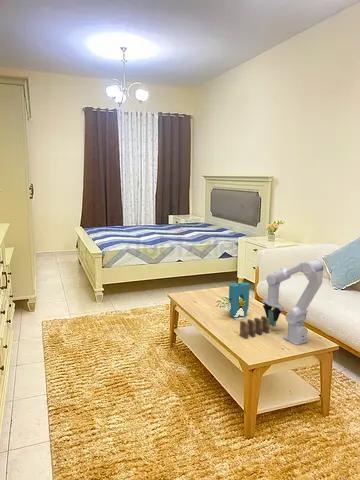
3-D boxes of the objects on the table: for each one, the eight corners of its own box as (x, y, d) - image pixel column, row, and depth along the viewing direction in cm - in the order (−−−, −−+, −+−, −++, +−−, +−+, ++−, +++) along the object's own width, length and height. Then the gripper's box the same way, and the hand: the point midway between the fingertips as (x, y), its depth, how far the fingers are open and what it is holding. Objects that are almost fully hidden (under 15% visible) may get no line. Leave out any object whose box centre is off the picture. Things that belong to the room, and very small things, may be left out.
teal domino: (275, 326, 199) (276, 312, 198) (273, 326, 198) (274, 312, 197) (269, 323, 203) (270, 309, 202) (267, 323, 203) (268, 309, 201)
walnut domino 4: (269, 333, 197) (269, 318, 196) (266, 333, 196) (267, 319, 195) (262, 329, 201) (263, 315, 200) (260, 330, 201) (261, 316, 199)
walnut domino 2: (255, 336, 192) (256, 322, 191) (253, 337, 192) (253, 322, 190) (249, 333, 197) (249, 319, 195) (246, 333, 196) (247, 319, 195)
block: (244, 313, 226) (245, 282, 223) (248, 316, 221) (250, 284, 218) (227, 316, 221) (228, 284, 218) (232, 319, 216) (233, 286, 213)
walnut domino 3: (262, 334, 195) (263, 320, 194) (260, 335, 194) (260, 321, 193) (256, 331, 199) (256, 317, 198) (253, 332, 198) (254, 318, 197)
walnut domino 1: (248, 338, 190) (248, 323, 189) (245, 339, 189) (246, 324, 188) (242, 334, 194) (242, 320, 193) (239, 335, 194) (240, 321, 192)
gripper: (288, 298, 194) (287, 322, 196) (269, 290, 206) (268, 313, 208) (278, 300, 190) (277, 324, 193) (259, 292, 203) (258, 315, 205)
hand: (271, 319), depth 200 cm, fingers closed on teal domino, 5 cm apart
